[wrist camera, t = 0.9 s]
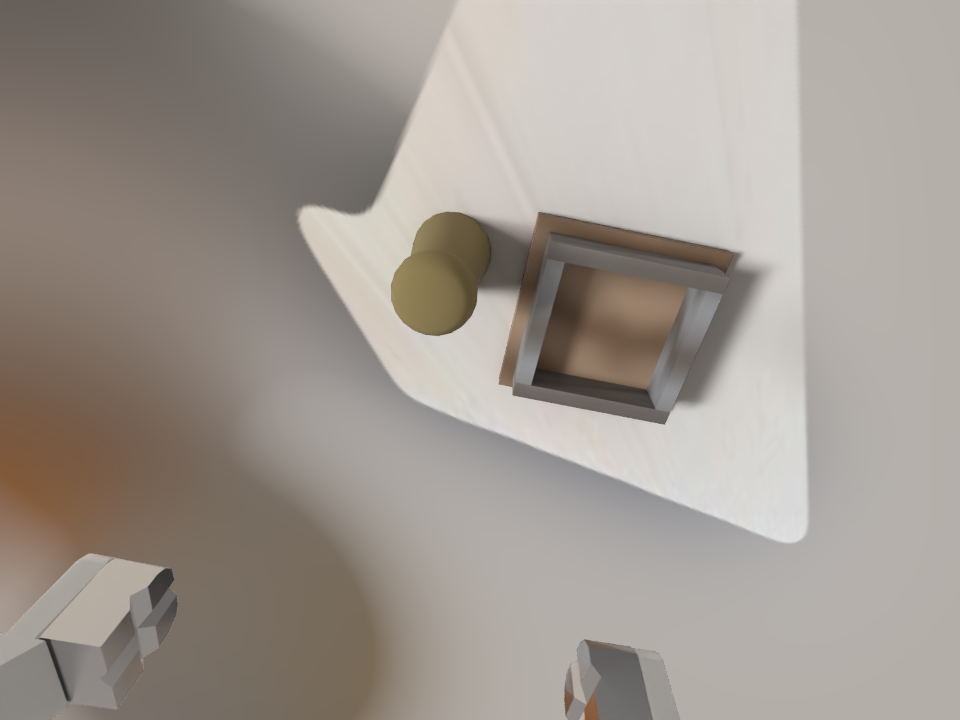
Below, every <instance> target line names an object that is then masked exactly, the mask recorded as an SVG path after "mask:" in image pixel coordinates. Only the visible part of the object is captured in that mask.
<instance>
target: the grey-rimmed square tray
mask: <svg viewBox="0 0 960 720" xmlns="http://www.w3.org/2000/svg"><path fill="white" fill-rule="evenodd" d="M732 257H733V254H732V253H731V252H729V251H726V250H722V249H717V248H712V247H707V246H702V245H697V244H692V243H687V242H682V241H677V240H673V239H668V238H663V237H658V236H653V235H648V234H643V233H638V232H633V231H629V230H624V229H619V228H614V227H609V226H604V225H599V224H594V223H589V222H584V221H580V220H575V219H570V218H565V217H560V216H555V215H550V214H545V213H540V212H538V216H537V221H536V225H535V229H534V233H533V238H532V242H531V246H530V250H529V254H528V259H527V263H526V267H525V271H524V276H523V280H522V284H521V288H520V292H519V297H518V301H517V305H516V309H515V314H514V318H513V322H512V326H511V330H510V335H509V339H508V343H507V347H506V352H505V356H504V360H503V364H502V368H501V373H500V377H499V384H500V385H505V386H510V387H513V395H514V396H519V397H524V398H529V399H534V400H540V401H545V402H550V403H555V404H560V405H566V406H571V407H576V408H581V409H587V410H592V411H597V412H602V413H607V414H613V415H618V416H623V417H628V418H633V419H639V420H644V421H649V422H654V423H659V424H665V423H666V421H667V419H668V416H669V414H670V412H671V410H672V407H673V405H674V403H675V401H676V398H677V396H678V394H679V392H680V390H681V387H682V385H683V383H684V381H685V378H686V376H687V374H688V372H689V369H690V367H691V365H692V363H693V360H694V358H695V356H696V354H697V352H698V349H699V347H700V345H701V343H702V340H703V338H704V336H705V334H706V331H707V329H708V327H709V325H710V323H711V320H712V318H713V316H714V314H715V311H716V309H717V307H718V305H719V302H720V300H721V298H722V296H723V293H724V291H725V289H726V287H727V285H728V282H729V280H730V277H729V276H727V275H726V274H725V273H726V270H727V268H728V266H729V263H730V261H731V259H732Z"/></svg>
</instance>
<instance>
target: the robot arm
mask: <svg viewBox="0 0 960 720" xmlns="http://www.w3.org/2000/svg"><path fill="white" fill-rule="evenodd" d="M173 581H174V577H173V572H172V569H171V568H166V567H160V566H155V565H149V564H144V563H139V562H133V561H128V560H123V559H118V558H113V557H108V556H102V555H96V554H90V553H89V554H87V555H86V556H84V557H83V558H81V559H79V560H77V561H76V562H75V563H74V564H73V565H72V566H71V567H70V568H69V569H68V570H67V571H66V573H65V574H64V575H63V576H62V577H61V578H60V579H59V580H58V581H57V582H56V583H55V584H54V585H53V586H52V587H51V588H50V589H49V590H48V591H47V592H46V593H45V594H44V595H43V596H42V597H41V598H40V599H39V600H38V601H37V602H36V603H35V604H34V605H33V606H32V607H31V608H30V609H29V610H28V611H27V612H26V613H25V614H24V615H23V616H22V617H21V618H20V619H19V620H18V621H17V622H16V623H15V624H14V625H13V626H12V627H11V628H10V629H9V630H8V631H7V632H6V633H1V632H0V720H51V719H52V718H53V717H55V716H56V715H58V714H59V713H60V712H62V711H63V710H64V709H66V708H67V707H68V703H73V704H79V705H87V706H94V707H102V708H110V709H118V708H119V707H120V705H121V704H122V702H123V701H124V699H125V698H126V697H127V695H128V694H129V692H130V690H131V689H132V687H133V686H134V685H135V683H136V682H137V680H138V678H139V677H140V675H141V674H142V673H143V658H144V657H145V656H147V655H148V654H150V653H151V652H153V651H154V650H156V649H157V648H159V647H160V645H161V644H162V642H163V641H164V639H165V638H166V636H167V635H168V633H169V631H170V629H171V626H172V624H173V622H174V619H175V617H176V612H177V606H178V602H177V595H176V594H175V593H174V592H173V591H171V589H170V588H169V587H170V585H171V584H172V583H173ZM577 656H578V660H576V661H574V662H572V663H571V664H570V667H569V669H568V672H567V675H566V682H565V697H564V700H565V701H564V702H565V714H566V717H567V719H568V720H680V718H679V714H678V711H677V707H676V704H675V700H674V697H673V693H672V690H671V686H670V683H669V679H668V676H667V672H666V669H665V665H664V662H663V659H662V657H661V656H660V654H659V653H657V652H655V651H649V650H643V649H636V648H631V647H629V646H623V645H616V644H610V643H603V642H597V641H591V640H583V641H581V642H580V644H579V646H578V648H577Z"/></svg>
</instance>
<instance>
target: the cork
mask: <svg viewBox="0 0 960 720" xmlns="http://www.w3.org/2000/svg"><path fill="white" fill-rule="evenodd" d="M490 256H491V247H490V243H489V239H488V236H487V234H486V233H485V231H484V230H483V228H482V226H481V225H480V224H478V223H477V222H476V221H475V220H474V219H473V218H471V217H469V216H466V215H464V214H462V213H457V212H444V213H440V214H436V215H434V216H432V217H431V218H429V219H428V220H426V221H425V222H424V223H423V224H422V226H421V227H420V228H419V230H418V231H417V234H416V237H415V240H414V243H413V248H412V253H411V256H410V257H408V258H406V259H405V260H404V261H403V263H402V264H401V265H400V267H399V268H398V269H397V270H396V272H395V274H394V277H393V280H392V283H391V300H392V303H393V306H394V309H395V312H396V313H397V315H398V316H399V317H400V319H401V320H402V321H403V323H405V324H406V325H407V326H409V327H410V328H411V329H413V330H414V331H417V332H420V333H422V334H425V335H434V336H440V335H444V334H449V333H452V332H453V331H455V330H457V329H459V328H460V327H462V326H463V325H464V324H465V323H466V321H467V320H468V319H469V318H470V317H471V316H472V313H473V311H474V309H475V306H476V303H477V289H478V288H477V284H478V282H479V281H480V279H481V278H482V276H483V275H484V273H485V272H486V270H487V267H488V265H489V262H490Z"/></svg>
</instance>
